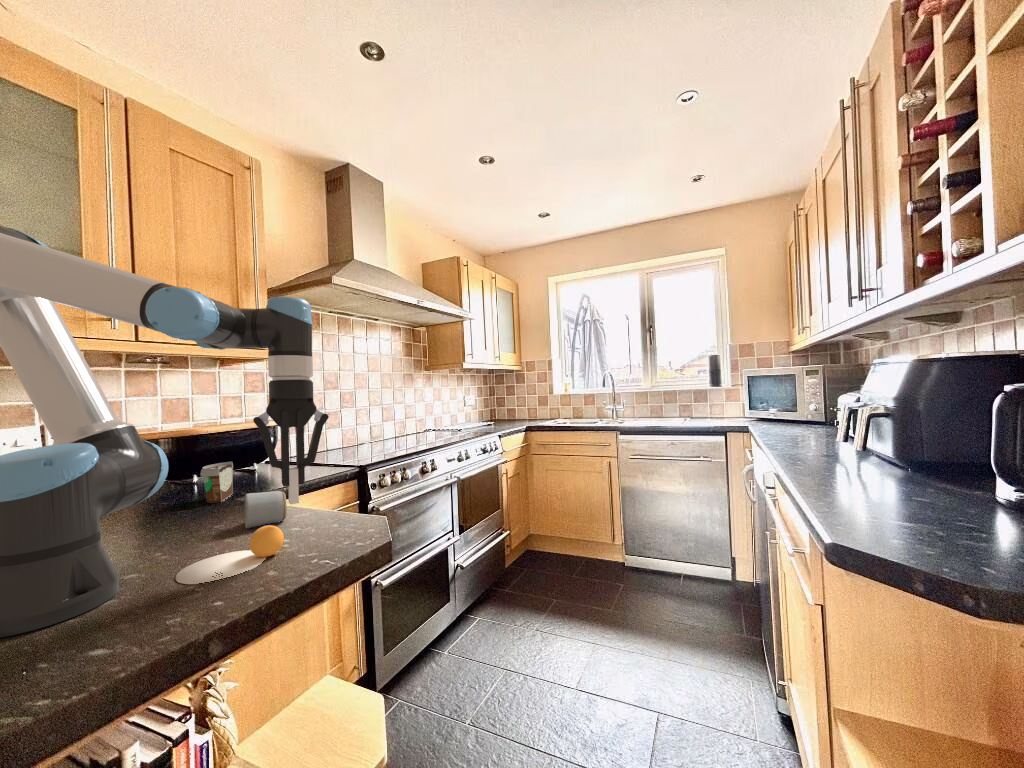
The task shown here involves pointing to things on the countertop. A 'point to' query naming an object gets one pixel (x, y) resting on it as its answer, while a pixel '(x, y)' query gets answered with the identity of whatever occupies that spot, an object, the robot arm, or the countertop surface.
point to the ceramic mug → (264, 508)
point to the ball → (266, 541)
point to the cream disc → (219, 567)
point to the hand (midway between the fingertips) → (293, 502)
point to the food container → (218, 481)
